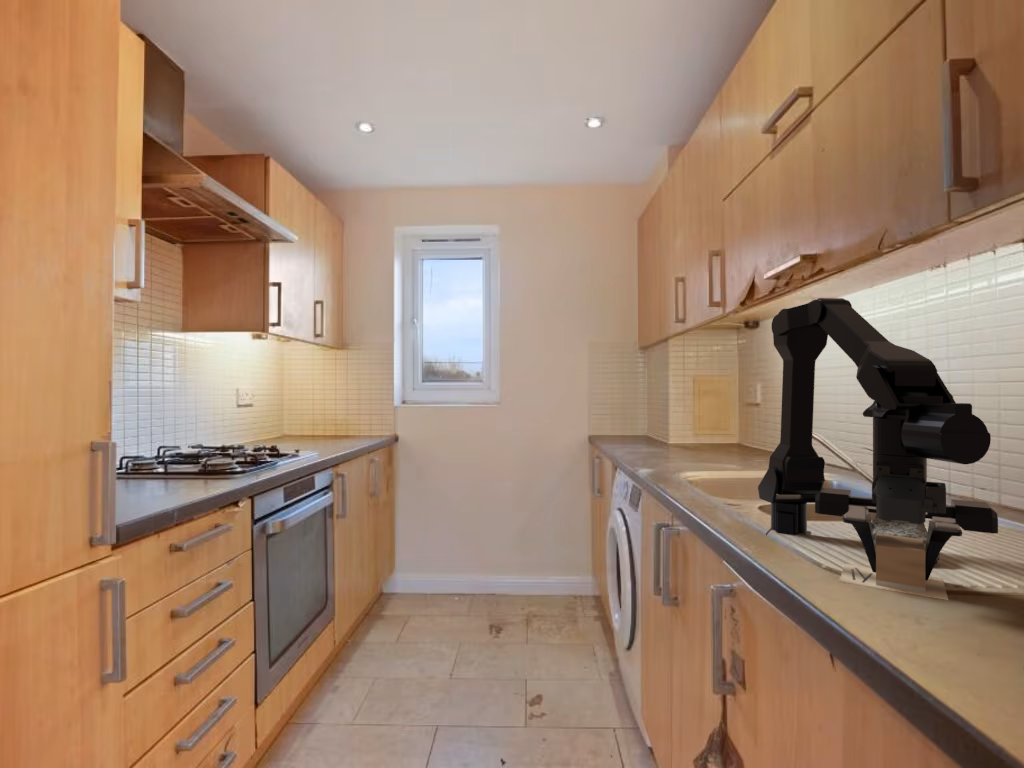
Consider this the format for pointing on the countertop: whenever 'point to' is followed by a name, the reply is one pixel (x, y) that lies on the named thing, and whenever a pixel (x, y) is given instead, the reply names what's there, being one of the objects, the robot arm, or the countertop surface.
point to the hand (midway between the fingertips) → (899, 575)
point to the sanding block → (900, 562)
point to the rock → (899, 530)
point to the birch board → (868, 578)
